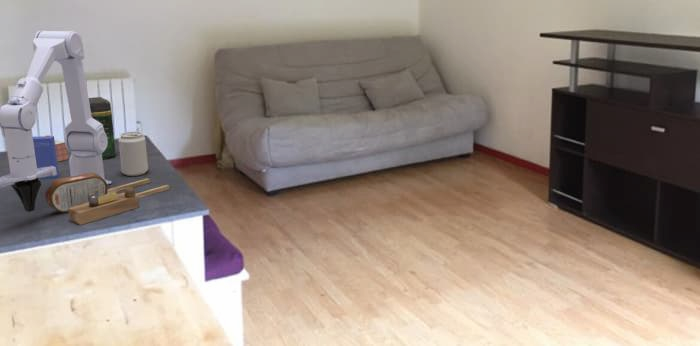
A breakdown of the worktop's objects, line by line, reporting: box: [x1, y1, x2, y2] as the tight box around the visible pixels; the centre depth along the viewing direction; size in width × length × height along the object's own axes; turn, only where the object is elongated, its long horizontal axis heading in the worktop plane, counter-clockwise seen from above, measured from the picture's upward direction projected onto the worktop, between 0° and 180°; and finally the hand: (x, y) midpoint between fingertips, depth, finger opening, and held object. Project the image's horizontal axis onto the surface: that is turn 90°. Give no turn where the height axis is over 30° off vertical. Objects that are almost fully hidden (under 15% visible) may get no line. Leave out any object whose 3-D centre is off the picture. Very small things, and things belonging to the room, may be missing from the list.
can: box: [117, 130, 149, 177], centre depth 202 cm, size 8×8×12 cm
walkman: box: [33, 134, 60, 179], centre depth 199 cm, size 8×3×12 cm, turn 96°
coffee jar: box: [88, 96, 116, 160], centre depth 219 cm, size 10×8×19 cm
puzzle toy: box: [54, 139, 70, 163], centre depth 217 cm, size 6×6×6 cm
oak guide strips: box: [107, 178, 170, 199], centre depth 188 cm, size 10×15×1 cm, turn 140°
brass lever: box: [88, 192, 118, 206], centre depth 170 cm, size 7×2×2 cm, turn 138°
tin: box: [45, 173, 109, 213], centre depth 175 cm, size 15×3×8 cm, turn 133°
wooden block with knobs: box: [68, 187, 140, 226], centre depth 171 cm, size 5×16×5 cm, turn 140°
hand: (29, 210), depth 166 cm, fingers closed
